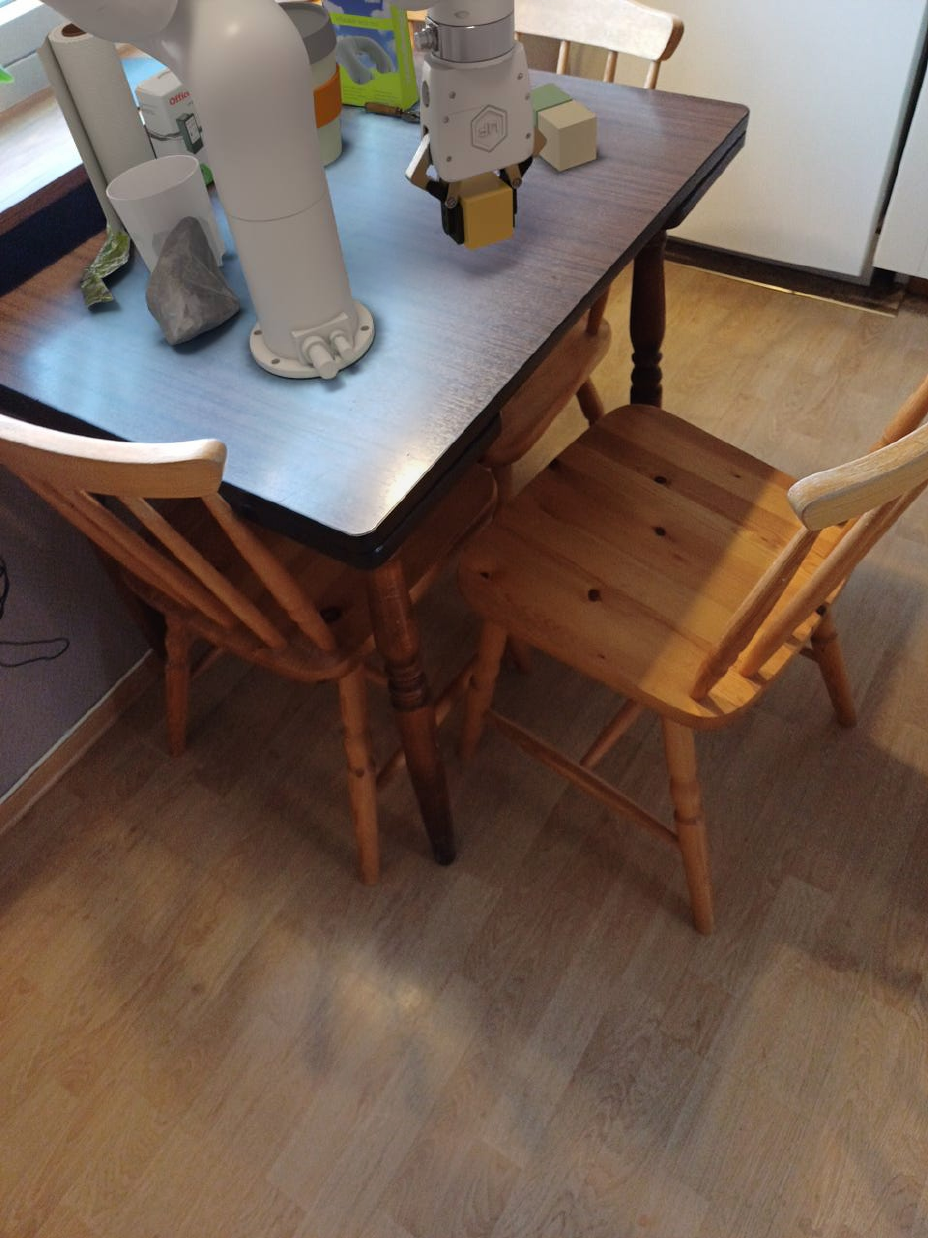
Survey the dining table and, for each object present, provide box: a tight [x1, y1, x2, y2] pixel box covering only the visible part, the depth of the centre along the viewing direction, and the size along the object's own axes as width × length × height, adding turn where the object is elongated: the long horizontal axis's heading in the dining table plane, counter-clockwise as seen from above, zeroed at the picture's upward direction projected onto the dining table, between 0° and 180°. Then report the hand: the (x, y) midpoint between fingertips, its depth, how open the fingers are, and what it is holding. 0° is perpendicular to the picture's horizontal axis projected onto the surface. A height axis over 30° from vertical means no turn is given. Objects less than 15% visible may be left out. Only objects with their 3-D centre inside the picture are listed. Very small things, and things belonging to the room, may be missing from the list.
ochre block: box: [458, 171, 514, 252], centre depth 95 cm, size 5×5×5 cm
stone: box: [144, 216, 240, 346], centre depth 97 cm, size 12×11×10 cm
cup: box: [106, 155, 227, 275], centre depth 102 cm, size 10×10×10 cm
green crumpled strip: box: [79, 220, 132, 309], centre depth 109 cm, size 6×25×2 cm, turn 178°
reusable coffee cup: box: [277, 0, 343, 167], centre depth 114 cm, size 13×13×15 cm
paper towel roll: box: [35, 20, 157, 238], centre depth 104 cm, size 7×6×21 cm
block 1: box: [531, 82, 574, 128], centre depth 114 cm, size 5×5×5 cm
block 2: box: [538, 99, 598, 173], centre depth 111 cm, size 5×5×5 cm
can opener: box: [364, 102, 420, 122], centre depth 123 cm, size 9×2×1 cm, turn 56°
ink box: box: [133, 67, 214, 186], centre depth 114 cm, size 9×5×12 cm, turn 146°
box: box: [320, 0, 419, 111], centre depth 120 cm, size 10×4×17 cm, turn 63°
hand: (480, 228), depth 96 cm, fingers closed on ochre block, 5 cm apart
